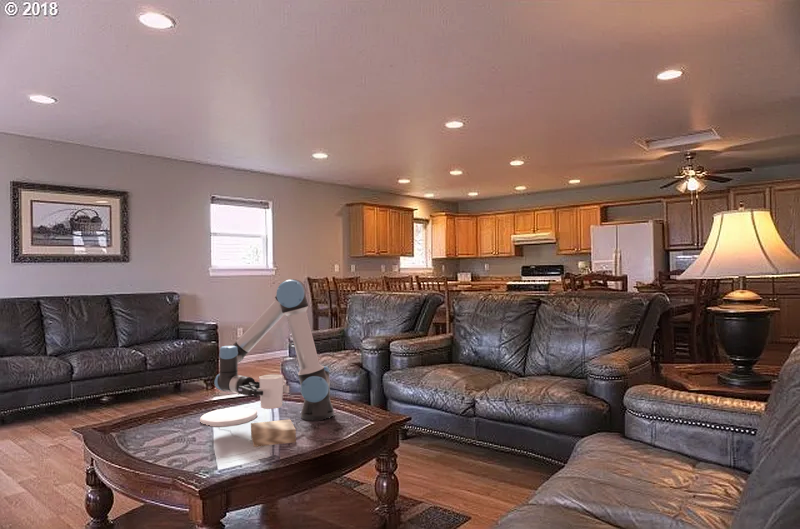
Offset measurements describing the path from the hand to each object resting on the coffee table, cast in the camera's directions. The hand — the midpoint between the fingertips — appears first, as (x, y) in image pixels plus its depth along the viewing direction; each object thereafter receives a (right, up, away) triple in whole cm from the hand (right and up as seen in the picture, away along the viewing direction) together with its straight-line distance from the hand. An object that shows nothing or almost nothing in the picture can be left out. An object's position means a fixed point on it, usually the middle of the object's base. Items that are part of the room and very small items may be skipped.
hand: (279, 391), depth 218 cm
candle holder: (-4, -7, +3) cm, 8 cm away
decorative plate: (-31, -21, +35) cm, 51 cm away
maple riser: (-3, -19, +2) cm, 20 cm away
